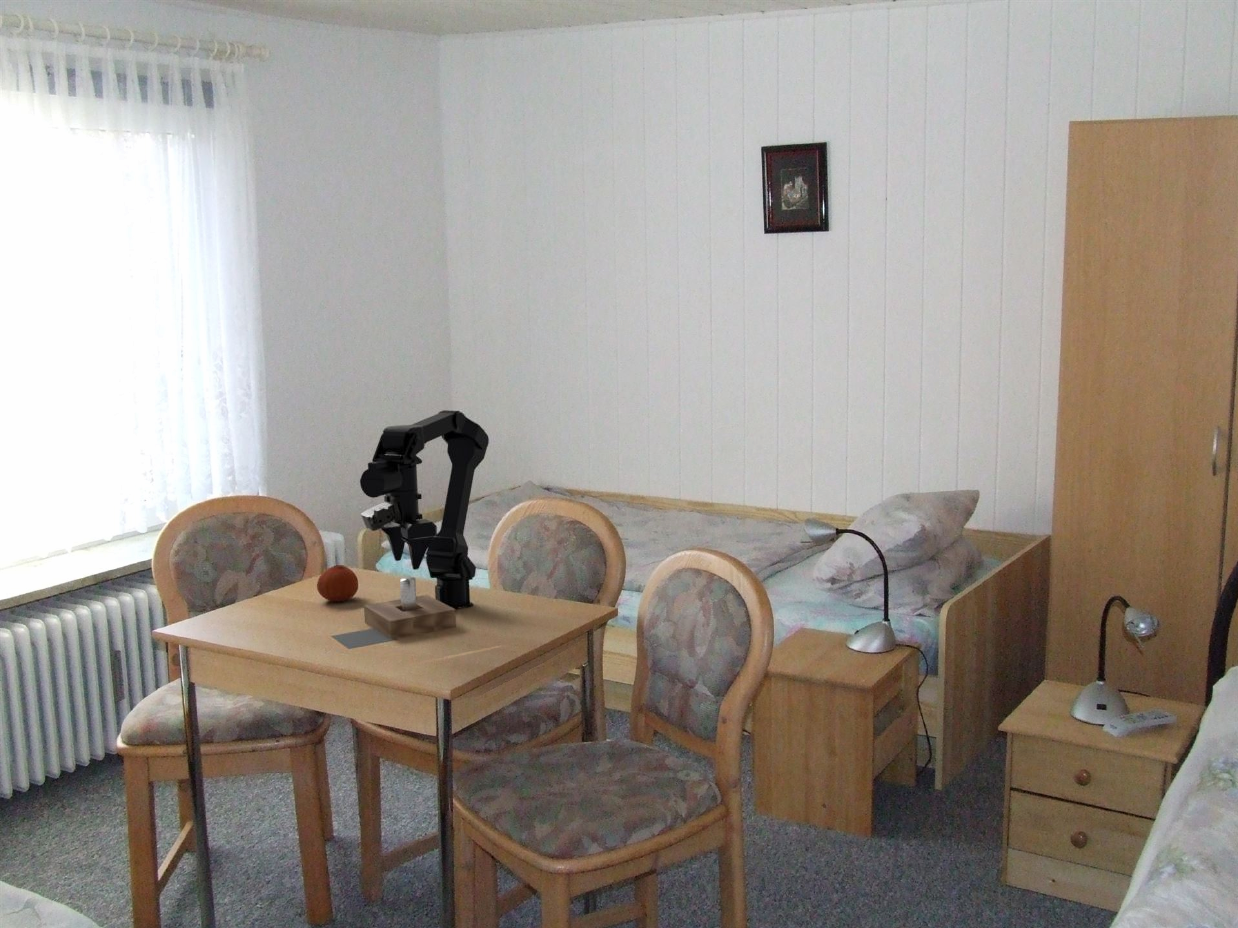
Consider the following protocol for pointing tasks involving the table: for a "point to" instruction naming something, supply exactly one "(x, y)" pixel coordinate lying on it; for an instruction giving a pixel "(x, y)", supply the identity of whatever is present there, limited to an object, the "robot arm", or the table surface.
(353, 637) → the panel
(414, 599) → the peg
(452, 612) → the hole block
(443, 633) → the table surface
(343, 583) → the fruit
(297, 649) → the table surface
